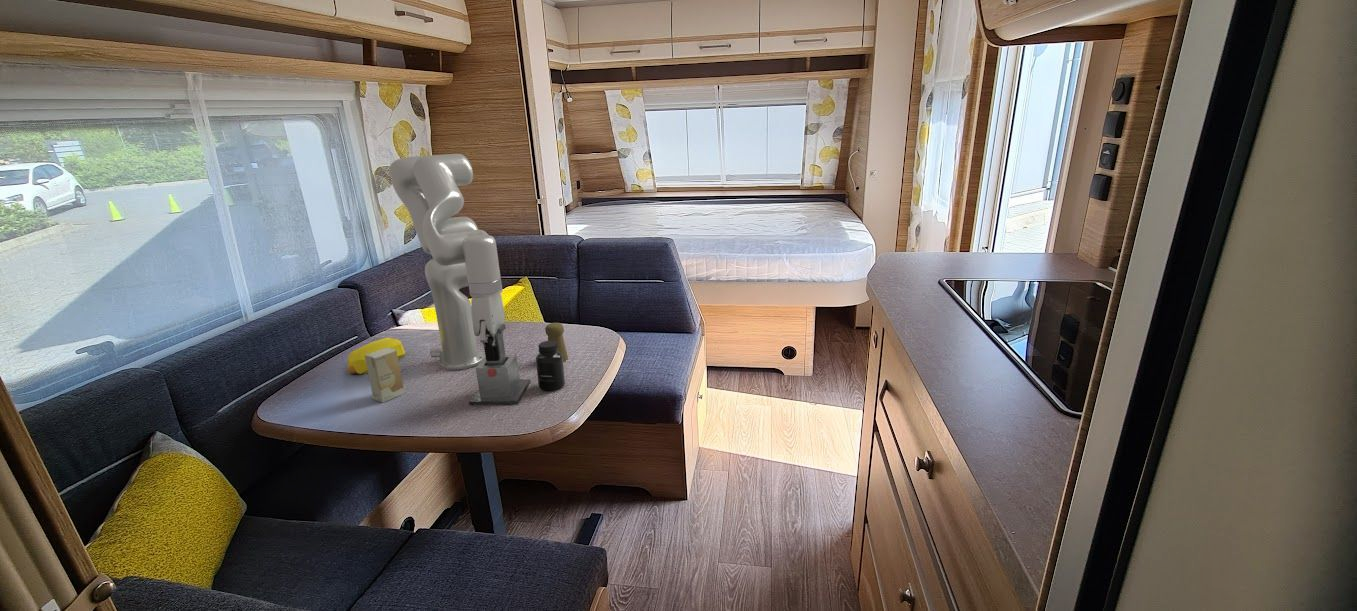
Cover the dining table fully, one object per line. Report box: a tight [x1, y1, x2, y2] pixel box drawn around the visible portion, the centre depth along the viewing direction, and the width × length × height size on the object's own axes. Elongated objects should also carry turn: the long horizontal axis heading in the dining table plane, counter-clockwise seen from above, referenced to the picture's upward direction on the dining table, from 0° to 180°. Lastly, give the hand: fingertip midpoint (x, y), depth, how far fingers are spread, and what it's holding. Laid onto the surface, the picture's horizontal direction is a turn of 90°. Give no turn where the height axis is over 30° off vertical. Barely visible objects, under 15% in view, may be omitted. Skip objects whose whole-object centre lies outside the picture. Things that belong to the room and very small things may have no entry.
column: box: [480, 323, 506, 366], centre depth 143 cm, size 6×4×17 cm, turn 89°
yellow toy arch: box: [347, 336, 406, 375], centre depth 166 cm, size 18×7×8 cm
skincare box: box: [365, 348, 405, 403], centre depth 145 cm, size 6×4×12 cm
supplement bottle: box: [535, 340, 566, 393], centre depth 147 cm, size 7×7×12 cm
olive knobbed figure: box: [544, 322, 569, 363], centre depth 164 cm, size 6×6×11 cm
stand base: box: [468, 354, 531, 406], centre depth 145 cm, size 12×12×9 cm
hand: (495, 356), depth 143 cm, fingers closed on column, 3 cm apart
